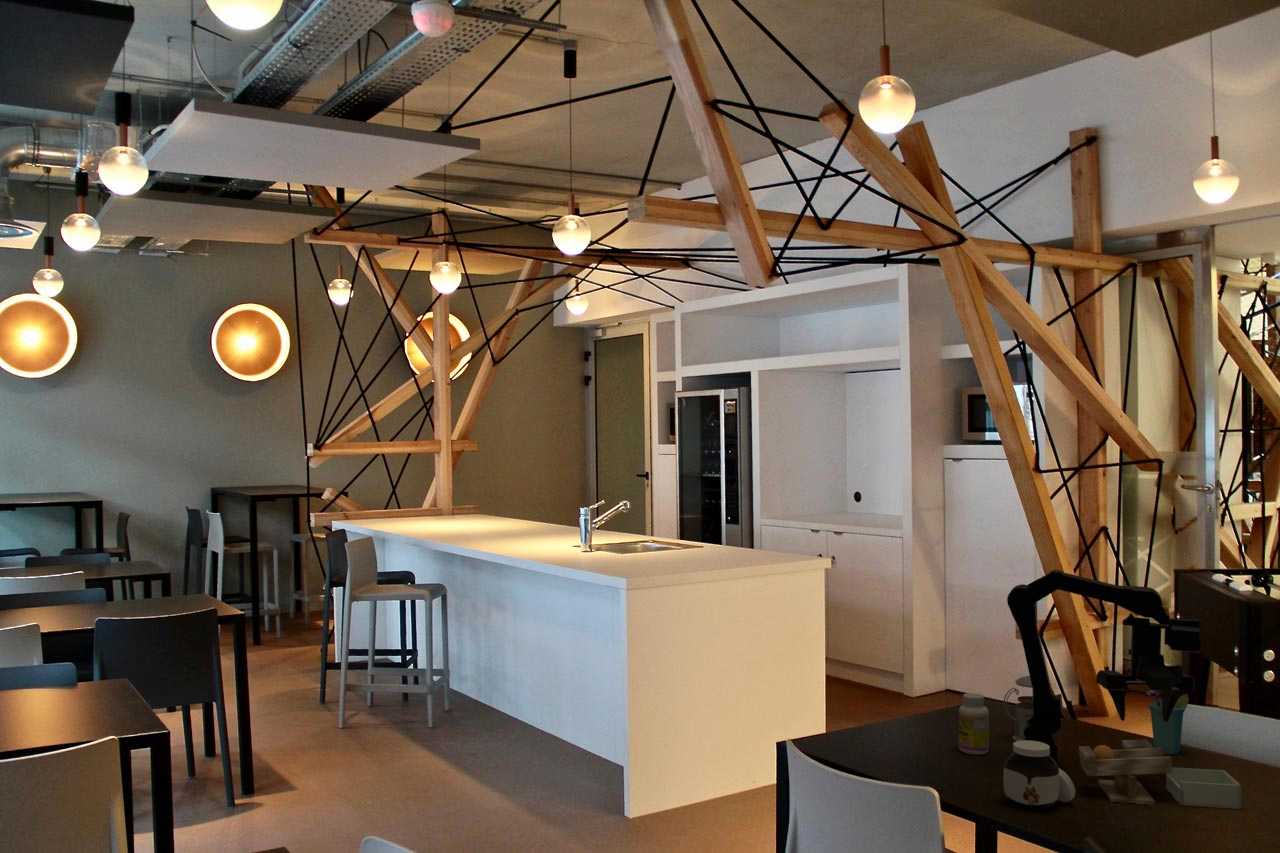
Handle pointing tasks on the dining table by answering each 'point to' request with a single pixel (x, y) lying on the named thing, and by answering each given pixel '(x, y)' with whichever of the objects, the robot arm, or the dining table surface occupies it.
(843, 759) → the dining table surface
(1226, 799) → the tray
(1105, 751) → the ball
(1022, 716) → the french press
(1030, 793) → the spread jar
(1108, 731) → the dining table surface
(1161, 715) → the cup
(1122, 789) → the stand
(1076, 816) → the dining table surface
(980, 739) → the supplement bottle
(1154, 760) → the lever
